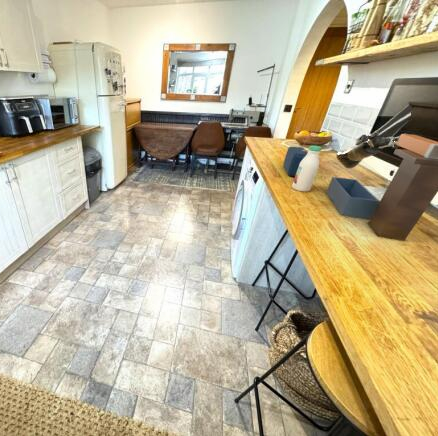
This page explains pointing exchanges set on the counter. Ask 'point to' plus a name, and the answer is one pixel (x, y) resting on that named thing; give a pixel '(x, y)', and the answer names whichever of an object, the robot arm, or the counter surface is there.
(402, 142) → the orange brown bar
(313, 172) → the milk bottle
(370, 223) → the shelf stand
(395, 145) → the robot arm
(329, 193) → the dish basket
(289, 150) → the radio
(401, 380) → the counter surface
